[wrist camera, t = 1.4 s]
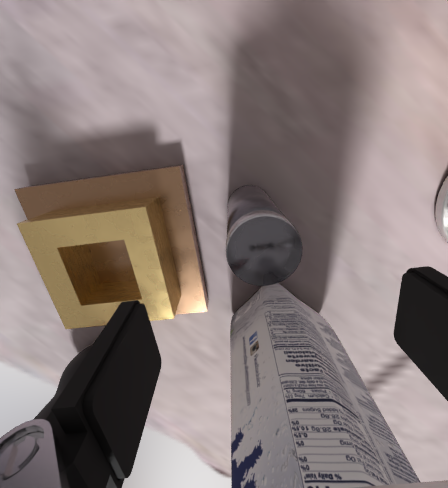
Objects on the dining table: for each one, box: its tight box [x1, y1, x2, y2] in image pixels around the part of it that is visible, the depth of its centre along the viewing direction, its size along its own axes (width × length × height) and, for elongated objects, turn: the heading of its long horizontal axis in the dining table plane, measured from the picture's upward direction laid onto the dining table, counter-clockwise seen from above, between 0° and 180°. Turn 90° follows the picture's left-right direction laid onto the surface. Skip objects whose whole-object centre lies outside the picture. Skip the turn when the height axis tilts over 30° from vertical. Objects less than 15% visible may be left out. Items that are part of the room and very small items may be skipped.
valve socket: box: [14, 165, 208, 329], centre depth 25 cm, size 16×16×6 cm
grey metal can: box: [226, 185, 302, 286], centre depth 20 cm, size 4×4×12 cm
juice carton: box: [230, 283, 420, 488], centre depth 18 cm, size 9×10×27 cm
